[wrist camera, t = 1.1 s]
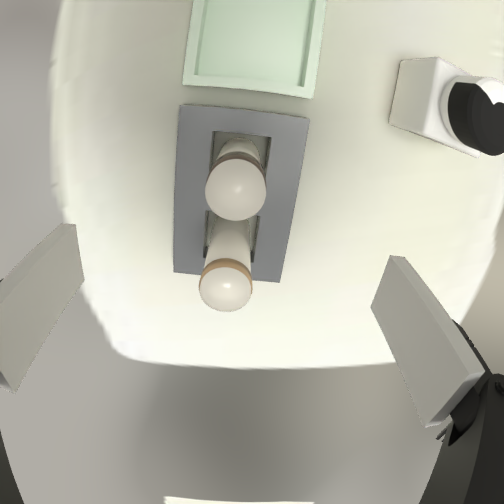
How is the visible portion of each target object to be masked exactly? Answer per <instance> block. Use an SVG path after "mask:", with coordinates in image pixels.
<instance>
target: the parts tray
mask: <svg viewBox="0 0 504 504" xmlns="http://www.w3.org/2000/svg"><path fill="white" fill-rule="evenodd" d="M326 3H327V0H194V2H193V8H192V14H191V20H190V27H189V33H188V40H187V48H186V55H185V63H184V72H183V80H182V85H188V86H208V87H222V88H233V89H243V90H252V91H261V92H268V93H275V94H282V95H289V96H295V97H300V98H306V99H313V97H314V90H315V84H316V77H317V70H318V63H319V56H320V49H321V42H322V35H323V27H324V19H325V11H326Z"/></svg>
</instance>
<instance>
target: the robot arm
mask: <svg viewBox="0 0 504 504" xmlns="http://www.w3.org/2000/svg"><path fill="white" fill-rule="evenodd" d="M83 282H84V275H83V269H82V264H81V258H80V252H79V245H78V239H77V231H76V225H75V224H63V223H62V224H60V225H59V226H57V227H56V228H55V229H54V230H53V231H52V232H51V233H50V234H49V235H47V236H46V238H44V239H43V240H42V241H41V242H40V243H39V244H38V245H37V246H36V247H35V248H34V249H33V250H31V252H30V253H28V254H27V255H26V257H24V258H23V259H22V260H21V261H20V262H19V263H18V265H16V266H15V268H13V269H12V271H11V272H10V273H9V274H8V275H7V276H6V277H5V278H4V279H2V280H0V388H2V389H5V390H7V391H9V392H12V393H14V394H16V392H17V390H18V388H19V386H20V384H21V382H22V380H23V379H24V377H25V375H26V373H27V371H28V369H29V368H30V366H31V364H32V362H33V360H34V358H35V357H36V355H37V353H38V352H39V350H40V348H41V347H42V345H43V343H44V342H45V340H46V338H47V337H48V335H49V333H50V332H51V330H52V328H53V327H54V325H55V324H56V322H57V321H58V319H59V317H60V316H61V314H62V313H63V311H64V310H65V308H66V307H67V305H68V304H69V302H70V301H71V299H72V298H73V296H74V295H75V293H76V292H77V290H78V289H79V287H80V286H81V285H82V283H83ZM371 309H372V311H373V313H374V315H375V317H376V320H377V322H378V324H379V326H380V328H381V330H382V332H383V334H384V336H385V339H386V341H387V343H388V345H389V347H390V349H391V352H392V354H393V356H394V358H395V360H396V363H397V365H398V367H399V369H400V371H401V374H402V376H403V378H404V381H405V383H406V385H407V388H408V390H409V393H410V395H411V398H412V400H413V403H414V405H415V407H416V410H417V412H418V415H419V417H420V420H421V423H422V425H423V428H426V427H430V426H434V425H438V424H441V423H442V422H443V421H444V420H445V418H446V417H447V416H448V415H449V414H450V415H451V417H452V419H453V420H452V422H451V423H450V424H449V425H448V426H447V427H446V428H445V429H444V430H443V431H442V432H441V433H440V434H439V435H438V436H437V438H436V439H437V440H439V439H440V438H441V437H442V436H443V435H444V434H445V437H444V439H443V440H442V442H443V444H442V446H441V449H440V453H439V455H438V458H437V461H436V464H435V466H434V469H433V472H432V474H431V477H430V480H429V482H428V484H427V487H426V489H425V491H424V494H423V496H422V499H421V500H420V503H419V504H504V375H501V374H492V373H491V371H490V369H489V368H488V366H487V365H486V363H485V361H484V360H483V358H482V357H481V355H480V354H479V352H478V350H477V349H476V348H475V347H474V344H473V343H472V341H471V340H469V337H468V336H467V334H466V332H465V331H464V330H463V328H462V327H461V326H460V325H458V324H457V323H456V322H455V321H454V320H452V319H451V318H450V316H449V315H448V313H447V312H446V311H445V309H444V308H443V306H442V305H441V304H440V302H439V301H438V300H437V298H436V297H435V296H434V294H433V293H432V292H431V290H430V289H429V288H428V286H427V285H426V284H425V282H424V281H423V280H422V278H421V277H420V276H419V275H418V273H417V272H416V271H415V270H414V268H413V267H412V266H411V264H410V263H409V262H408V261H407V260H406V258H405V257H400V256H391V255H390V257H389V259H388V262H387V265H386V268H385V271H384V273H383V276H382V279H381V281H380V284H379V287H378V289H377V292H376V294H375V297H374V299H373V302H372V304H371ZM0 504H24V503H23V500H22V497H21V495H20V492H19V490H18V487H17V484H16V482H15V479H14V476H13V473H12V470H11V467H10V464H9V461H8V457H7V454H6V450H5V447H4V443H3V440H2V436H1V432H0Z"/></svg>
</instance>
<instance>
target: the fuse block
mask: <svg viewBox="0 0 504 504" xmlns="http://www.w3.org/2000/svg"><path fill="white" fill-rule="evenodd" d="M309 122H310V119H307V118H305V117H299V116H293V115H286V114H280V113H273V112H265V111H257V110H249V109H239V108H229V107H218V106H204V105H186V104H185V105H180V111H179V123H178V136H177V151H176V169H175V193H174V239H173V265H174V272H176V273H186V274H195V275H201V274H202V271H203V269H204V265H205V261H206V256H207V251H208V247H205V246H206V230H207V215H208V211H212V209H211V208H210V207H209V205H208V203H207V201H206V196H205V187H206V181H207V177H208V175H209V173H210V170H211V165H212V154H213V144H214V134H215V131H220V132H231V133H240V134H250V135H258V136H266V137H269V144H268V151H267V158H266V165H265V172H264V175H265V179H266V198H265V201H264V204H263V206H262V207H261V209H260V210H259V211H258V212H257V213H256V214H255V215H257V216H258V221H257V228H256V235H255V242H254V249H253V252H251V251H250V265H251V276H252V280H256V281H267V282H278V283H280V278H281V274H282V269H283V264H284V259H285V254H286V249H287V244H288V239H289V234H290V228H291V223H292V218H293V213H294V207H295V202H296V197H297V191H298V186H299V180H300V174H301V169H302V163H303V157H304V152H305V146H306V140H307V134H308V128H309Z"/></svg>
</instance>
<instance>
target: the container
mask: <svg viewBox="0 0 504 504" xmlns="http://www.w3.org/2000/svg"><path fill="white" fill-rule="evenodd" d="M389 124H390V125H392V126H395V127H398V128H401V129H404V130H407V131H409V132H412V133H415V134H417V135H420V136H423V137H425V138H428V139H431V140H433V141H436V142H438V143H441V144H443V145H446V146H448V147H451V148H453V149H456V150H458V151H461V152H463V153H466V154H468V155H470V156H473V157H475V158H479V157H480V155H481V152H483V153H485V154H488V155H491V156H496V155H500V154H502V153H504V84H503V83H502V82H500V81H499V80H497V79H495V78H490V77H479V76H472V75H471V74H469V73H467V72H466V71H464V70H462V69H461V68H459V67H457V66H455V65H453V64H452V63H450V62H448V61H446V60H444V59H442V58H440V57H430V58H419V59H410V60H403V61H401V63H400V68H399V74H398V79H397V84H396V89H395V94H394V99H393V104H392V109H391V113H390V118H389Z"/></svg>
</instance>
